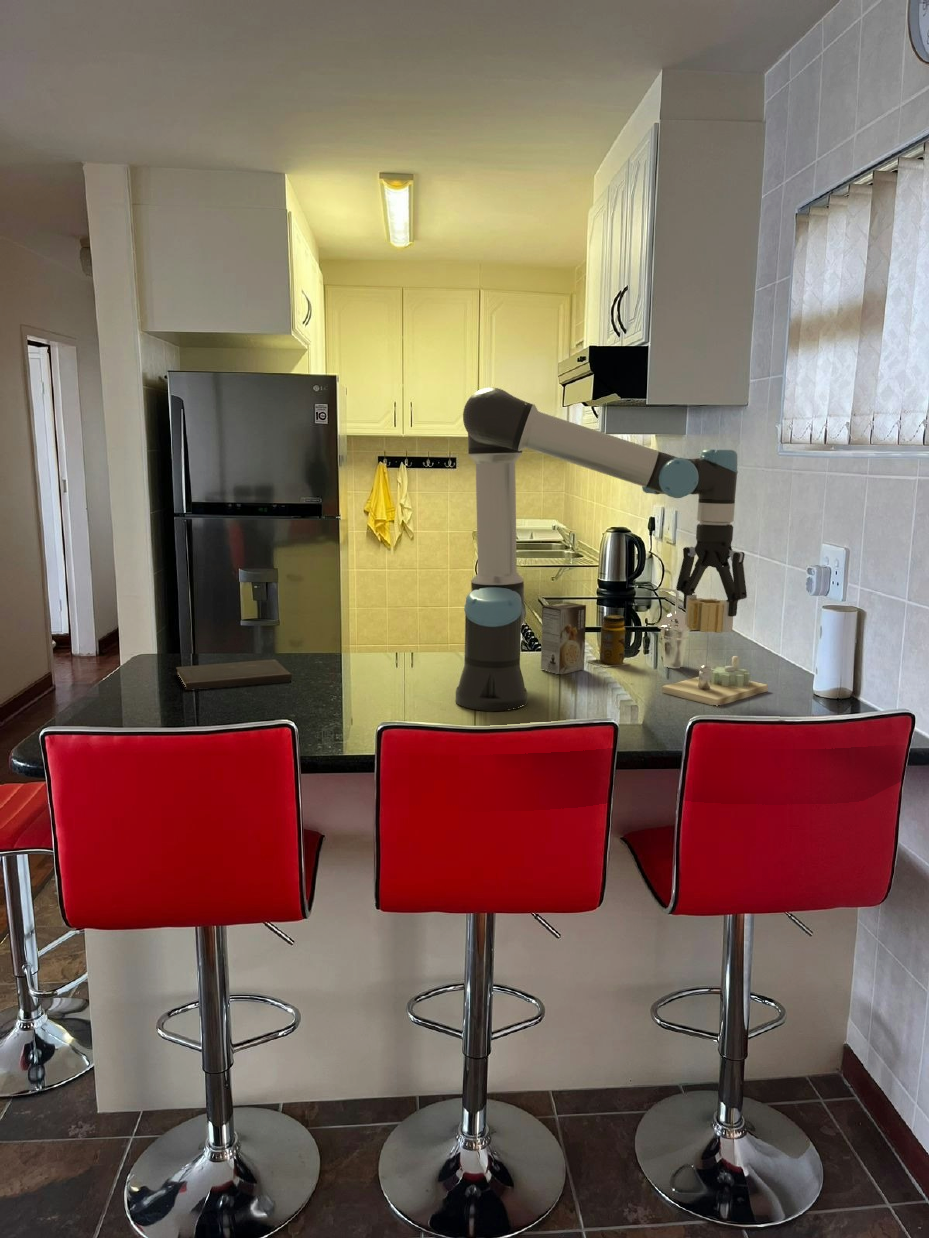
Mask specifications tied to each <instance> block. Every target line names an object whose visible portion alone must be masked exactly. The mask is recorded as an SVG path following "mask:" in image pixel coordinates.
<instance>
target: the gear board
mask: <svg viewBox="0 0 929 1238" xmlns="http://www.w3.org/2000/svg"><path fill="white" fill-rule="evenodd" d="M698 681H699V676H696V677H693V678H688V679H684V680H682V681H677V682H673V683H669V684H666V685H662V689H661V692H662V694H665V695H670V696H674V697H678V698H682V699H685V700H689V701H693V702H698V703H702V704H706V705H708V706H709V705H710V706H713V705H716V706H715V707H719V706H718V705H720V706H724V705H726V704H730V703H733V702H735V701H736V702H737V701H740V700H743V699H746V698H751V697H753V696H755V695H759V694H762V693H766V692H768V689H769V688H768V686H769V684H765V683H760V682H756V681H752V680H749V684H748V685H744V684H743V687H737V686H728V687H727V686H722V685H721V684H713V683H711V685H710V690H701V689H698Z"/></svg>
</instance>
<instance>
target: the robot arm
mask: <svg viewBox="0 0 929 1238" xmlns="http://www.w3.org/2000/svg"><path fill="white" fill-rule="evenodd" d="M462 422H463V426H464V428H465V431H466V432H467V442H468V443H467V445H468V446H467V449H468V457H469V458H471V459H470V460H473V462H474V463H475V488H476V489H475V492H476V496H475V497H476V498H475V499H476V502H475V503H476V540H477V542H476V544H477V545H476V547H477V549H476V550H477V574H476V575H474V577H473V578H472V579H471V581H470V583H471V585H470V586H471V587H470V589H471V591H470V592H469V593H468V594H467V595H466V597H465V604H464V608H463V609H464V614H465V617H464V618H465V620H464V666H463V670H462V672H461V676H460V679H459V682H458V686H457V687H456V689H455V703H456V704H457V705H459V706H460V707H463V708H466V709H471V710H476V711H483V712H485V711H486V712H502V711H503V710H506V711H509V710H508V709H513V708H518V707H520V706H522V705H525V704H526V702H527V703H528V689H527V688H526V686H525V682H524V676H523V673H522V670H521V641H522V640H521V637H522V636H521V635H522V634H521V633H522V627H523V626H522V625H523V624H524V622H525V619H526V612H527V610H526V604H525V584H524V578H523V577H522V576H521V575H520V574H519V573H518V570H517V569H518V566H517V560H518V559H517V507H516V506H517V500H516V499H517V497H516V490H517V488H516V486H517V483H516V462H517V460H519V459H520V457H521V456H522V455H523V450H526V449H527V450H530V451H533V452H536V453H540V454H542V455H546V456H549V457H551V458H555V459H557V460H561V461H564V462H567V463H570V464H572V465H576V466H578V467H582V468H586V469H589V470H591V471H595V472H597V473H600V474H603V475H607V476H609V477H613V478H616V479H619V480H622V481H625V482H628V483H630V484H633V485H637V486H640V487H641V489H642V491H643V493H645V494H651V495H652V494H653V495H666V496H668V497H671V498H674V499H681V498H684V497H687V496H688V495H698V501H697V512H696V516H697V517H696V520H697V522H699V523H697V524H696V531H695V540H696V545H695V546H694V547H693V546H686V547H683V549H682V554H683V555H682V556H683V558H682V563H681V567H680V571H679V574H678V579H677V583H676V587H675V588H676V589H675V590H676V591H678V592H680V593H682V594H683V604H682V605H683V606H682V607H683V609H684V610H685V615H686V616H685V625H687V617H688V602H689V600H690V599H693V600H695V599H696V598H698V596H697V594H696V589H697V587H698V584H699V583H700V581H701V579H702V577H703V575H704V573H705V571H706V569H708V568H709V567H711V568H715V570H716V572H718V575H719V577H720V580H721V583H722V586H723V589H724V592H725V595H726V598H727V599H726V601H724V611H723V626H722V632H723V633H726V632H731V631H733V626H734V617H736V616H737V614H738V602H739V601H740V600H745V599H747V598H748V597H747V596H748V594H747V584H746V576H745V567H744V561H745V556H746V555H745V552H743V551H736V550H735V551H734V550H733V547H732V542H733V536H734V526H733V524H731V523H733V522H734V521H735V505H736V503H735V502H736V492H737V480H738V473H739V472H738V453H737V451H736V450H733V449H709V448H707V449H702V451H701V453H700V456H699V458H698V457H697V458H683V457H677V456H674V455H671V454H668V453H665V452H661V451H659V450H656V449H653V448H651V447H649V446H645V445H641V444H638V443H635V442H632V441H629V440H626V439H624V438H621V437H617V436H613V435H611V434H607V433H605V432H602V431H599V430H596V429H593V428H590V427H586V426H583V425H581V424H578V423H576V422H571V421H569V420H566V419H562V418H559V417H557V416H553V415H551V414H547V413H544V412H541V411H539V409H538V408H537V406H536V404H535V403H530V402H527V401H525V400H522V399H520V398H518V397H516V396H514V395H512V394H511V393H509V392H508V391H505V390H504V389H501V388H498V387H485V388H482V389H479V390H477V391H476V392H474V393H473V394H472V395H471V396H470V397H468V400H467V401H466V402H465V404H464V407H463V413H462ZM695 556H697V560H696V561H695ZM729 559H730V561H731V566H730V562H729ZM694 562H695V564H694ZM693 567H694V569H693ZM730 569H732V570H730ZM731 571H732V572H731ZM526 705H527V704H526ZM526 705H525V706H526ZM518 709H519V708H518ZM513 710H514V709H513ZM503 712H504V711H503Z"/></svg>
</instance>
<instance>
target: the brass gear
mask: <svg viewBox="0 0 929 1238" xmlns="http://www.w3.org/2000/svg"><path fill="white" fill-rule="evenodd" d="M726 600H727V599H726ZM726 600H725V599H724V600H721V599H717V598H700V597H697V598H696V599H695V600H693V599H690V600H689V602H688V617H687V627H689V629H690V631H699V632H700V633H708V632H709V633H711V632H712V633H717V634H718V633H720V634H721V633H724V632H722V626H723V611H724V601H726Z"/></svg>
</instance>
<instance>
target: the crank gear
mask: <svg viewBox="0 0 929 1238" xmlns="http://www.w3.org/2000/svg"><path fill="white" fill-rule="evenodd" d="M739 659H740V657H739V656H737V655H734V656H732V658H731V665H725V666H724V667H723V666H714V667H715V668H712V667H710V668H711V683H713V684H721V685H722V686H727V687H728V686H737V687H743V684H744V685H748V684H749V681H750V674H751V673H750V672H748V670H747V669H741V668H740V669H739Z"/></svg>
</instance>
